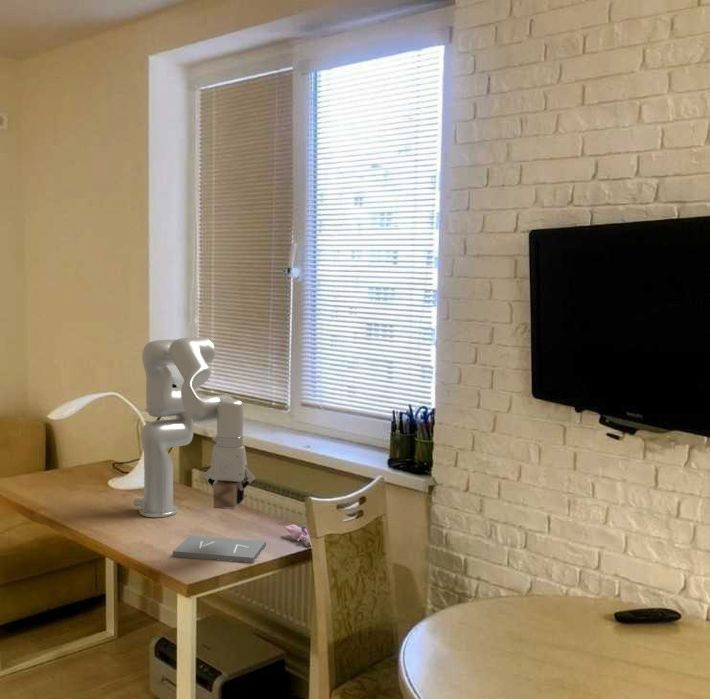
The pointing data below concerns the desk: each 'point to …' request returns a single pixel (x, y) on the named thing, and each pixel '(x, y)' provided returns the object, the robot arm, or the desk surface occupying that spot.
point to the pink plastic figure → (299, 533)
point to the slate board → (219, 548)
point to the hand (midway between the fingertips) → (228, 500)
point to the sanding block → (225, 495)
